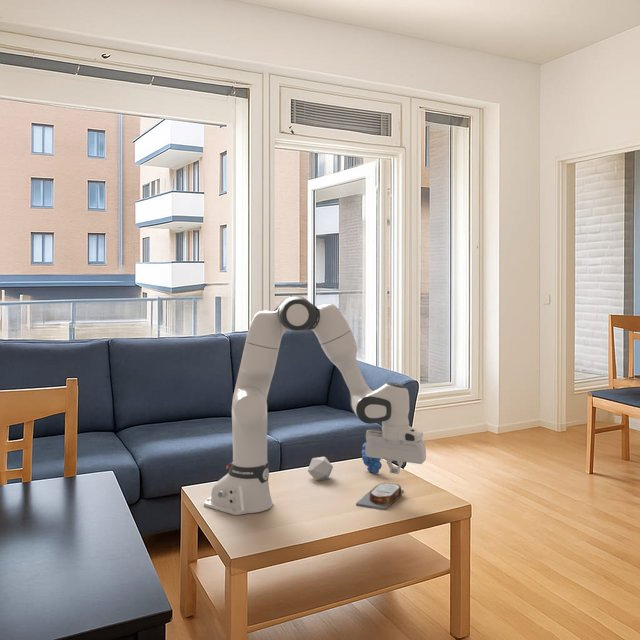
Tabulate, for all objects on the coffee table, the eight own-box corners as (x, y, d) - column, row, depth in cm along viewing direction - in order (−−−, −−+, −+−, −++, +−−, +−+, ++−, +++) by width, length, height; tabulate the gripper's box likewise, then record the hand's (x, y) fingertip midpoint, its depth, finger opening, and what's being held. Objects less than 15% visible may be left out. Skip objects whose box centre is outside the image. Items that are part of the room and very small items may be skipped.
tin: (404, 491, 213) (381, 489, 216) (404, 482, 213) (380, 480, 216) (390, 506, 199) (365, 503, 203) (389, 496, 199) (365, 494, 203)
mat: (356, 505, 202) (356, 503, 202) (376, 487, 219) (376, 485, 219) (385, 509, 198) (385, 508, 197) (403, 491, 215) (403, 489, 215)
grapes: (353, 470, 239) (353, 439, 238) (368, 467, 242) (368, 437, 241) (370, 478, 229) (370, 446, 228) (385, 475, 232) (385, 444, 231)
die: (327, 475, 234) (311, 455, 234) (341, 469, 229) (325, 448, 229) (315, 488, 228) (299, 468, 228) (329, 482, 223) (313, 461, 223)
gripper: (362, 430, 206) (361, 471, 207) (422, 437, 197) (421, 480, 198) (369, 426, 212) (368, 466, 213) (427, 433, 203) (427, 474, 204)
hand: (394, 473), depth 205 cm, fingers closed
